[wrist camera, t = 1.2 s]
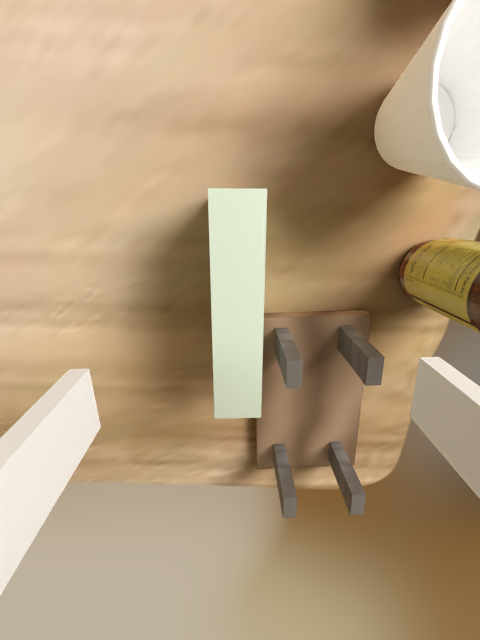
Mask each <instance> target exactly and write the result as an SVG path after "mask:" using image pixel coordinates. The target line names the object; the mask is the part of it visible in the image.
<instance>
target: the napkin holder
mask: <svg viewBox="0 0 480 640" xmlns="http://www.w3.org/2000/svg"><path fill="white" fill-rule="evenodd" d="M370 322H371V314H370V313H368V312H367V311H366V310H351V311H321V312H291V313H264V328H263V365H262V402H261V418H256V460H257V469H273V468H275V474H276V479H277V485H278V491H279V497H280V503H281V509H282V514H283V518H295V517H296V509H297V496H296V491H295V487H294V482H293V478H292V474H291V469H290V468H296V467H319V466H331V467H332V470H333V472H334V475H335V477H336V480H337V482H338V485H339V488H340V490H341V493H342V495H343V498H344V500H345V503H346V505H347V508H348V510H349V513H350V515H359V514H363V512H364V504H365V497H366V494H365V492H364V490H363V487H362V485H361V483H360V481H359V479H358V477H357V475H356V473H355V470H354V468H353V466H352V465H354V461H355V453H356V444H357V435H358V426H359V418H360V409H361V400H362V392H363V383H364V384H365V386H368V385H381V379H382V372H383V364H384V356H383V355H382V354H381V353H380V352H379V351H377V350H376V349H375V348H374V347H373V346H372V345H371V344H370V343H369V342H368V340H369V331H370Z"/></svg>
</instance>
